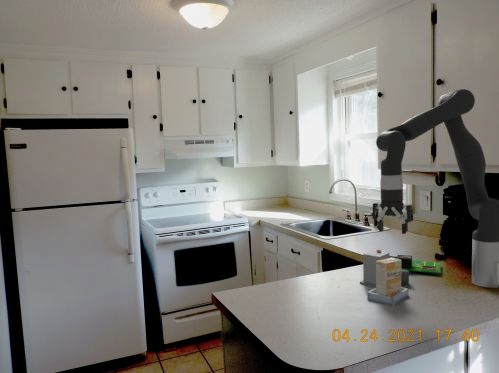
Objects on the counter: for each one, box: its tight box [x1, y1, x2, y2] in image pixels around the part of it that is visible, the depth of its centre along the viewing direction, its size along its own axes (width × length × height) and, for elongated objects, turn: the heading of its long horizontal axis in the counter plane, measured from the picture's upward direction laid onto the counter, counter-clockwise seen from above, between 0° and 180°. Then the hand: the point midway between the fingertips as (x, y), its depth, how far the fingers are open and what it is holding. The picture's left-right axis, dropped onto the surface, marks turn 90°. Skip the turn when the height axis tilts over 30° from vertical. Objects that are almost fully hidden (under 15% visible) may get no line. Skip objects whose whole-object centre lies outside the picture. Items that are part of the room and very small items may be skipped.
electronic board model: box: [390, 254, 442, 274], centre depth 177 cm, size 30×7×15 cm
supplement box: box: [375, 258, 402, 297], centre depth 143 cm, size 8×5×13 cm, turn 120°
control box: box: [359, 249, 391, 288], centre depth 158 cm, size 9×10×13 cm
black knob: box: [401, 269, 410, 286], centre depth 157 cm, size 4×4×5 cm
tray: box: [366, 286, 409, 306], centre depth 143 cm, size 9×12×2 cm
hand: (392, 232), depth 144 cm, fingers open, 8 cm apart
